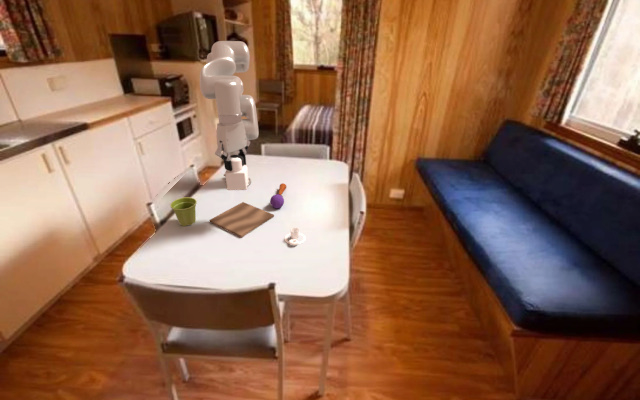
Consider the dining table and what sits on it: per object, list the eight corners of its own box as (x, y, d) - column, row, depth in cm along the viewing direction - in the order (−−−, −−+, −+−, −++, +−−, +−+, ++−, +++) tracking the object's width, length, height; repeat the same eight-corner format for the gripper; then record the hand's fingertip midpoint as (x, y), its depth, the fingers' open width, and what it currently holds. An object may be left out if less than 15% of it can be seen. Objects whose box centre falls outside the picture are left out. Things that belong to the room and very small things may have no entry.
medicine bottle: (230, 181, 120) (226, 153, 114) (248, 181, 121) (246, 153, 115) (227, 190, 114) (222, 160, 108) (246, 190, 115) (243, 160, 109)
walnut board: (209, 222, 123) (209, 219, 122) (243, 203, 136) (242, 201, 135) (241, 237, 114) (241, 235, 113) (274, 216, 127) (273, 214, 127)
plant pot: (205, 218, 125) (201, 199, 121) (189, 230, 117) (185, 211, 113) (186, 214, 127) (182, 195, 123) (169, 225, 120) (164, 206, 115)
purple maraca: (290, 182, 147) (283, 199, 129) (288, 193, 150) (281, 211, 132) (277, 179, 147) (269, 196, 129) (276, 190, 149) (268, 208, 131)
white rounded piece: (296, 249, 109) (296, 240, 107) (278, 242, 113) (278, 233, 111) (309, 237, 116) (310, 228, 114) (292, 230, 119) (292, 221, 117)
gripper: (241, 111, 113) (245, 157, 122) (201, 121, 100) (210, 172, 109) (256, 115, 109) (259, 162, 118) (217, 126, 97) (224, 177, 106)
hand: (235, 166), depth 114 cm, fingers closed on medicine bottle, 6 cm apart
